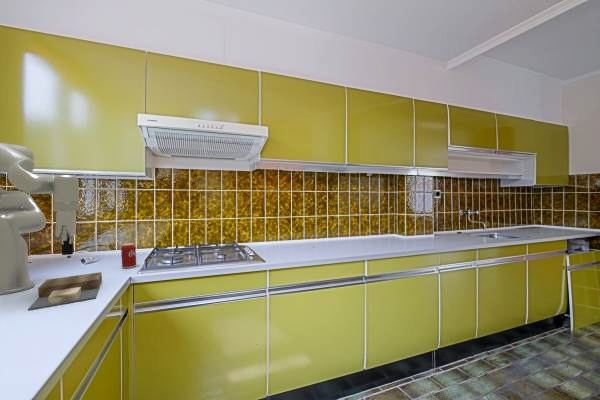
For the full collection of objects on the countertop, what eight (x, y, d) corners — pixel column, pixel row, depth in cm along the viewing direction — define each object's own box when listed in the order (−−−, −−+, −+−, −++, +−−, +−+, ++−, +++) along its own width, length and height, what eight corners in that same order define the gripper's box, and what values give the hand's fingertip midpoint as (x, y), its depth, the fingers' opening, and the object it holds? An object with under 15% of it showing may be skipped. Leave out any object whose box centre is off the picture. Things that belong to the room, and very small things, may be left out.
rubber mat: (28, 310, 92) (28, 308, 92) (37, 299, 102) (37, 298, 102) (95, 298, 101) (95, 297, 101) (98, 289, 111) (98, 288, 111)
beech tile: (53, 291, 102) (53, 297, 102) (48, 297, 96) (48, 304, 96) (81, 286, 106) (81, 293, 106) (77, 292, 100) (78, 299, 100)
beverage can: (134, 268, 142) (133, 244, 142) (120, 269, 140) (119, 245, 140) (137, 265, 148) (136, 242, 148) (124, 266, 147) (123, 243, 146)
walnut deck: (38, 298, 103) (38, 288, 102) (47, 289, 113) (46, 279, 113) (98, 289, 112) (98, 279, 112) (101, 281, 122) (101, 272, 122)
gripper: (58, 206, 113) (59, 251, 113) (48, 208, 100) (50, 259, 101) (82, 205, 117) (82, 249, 117) (75, 208, 104) (76, 257, 104)
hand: (67, 254), depth 109 cm, fingers closed
